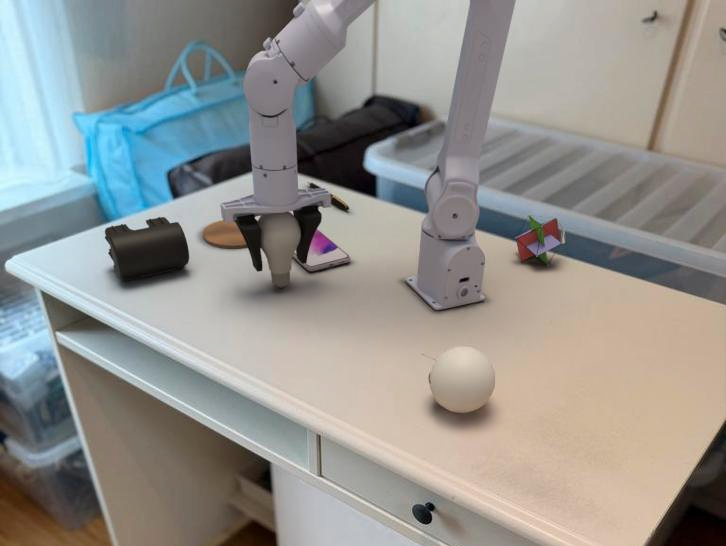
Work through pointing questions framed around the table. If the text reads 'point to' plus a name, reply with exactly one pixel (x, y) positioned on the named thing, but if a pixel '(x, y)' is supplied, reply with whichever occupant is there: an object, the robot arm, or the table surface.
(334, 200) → the fountain pen
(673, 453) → the table surface
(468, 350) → the white ball
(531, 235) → the geometric puzzle
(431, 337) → the table surface
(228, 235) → the copper coaster
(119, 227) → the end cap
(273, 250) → the lightbulb
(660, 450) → the table surface
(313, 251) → the smartphone
